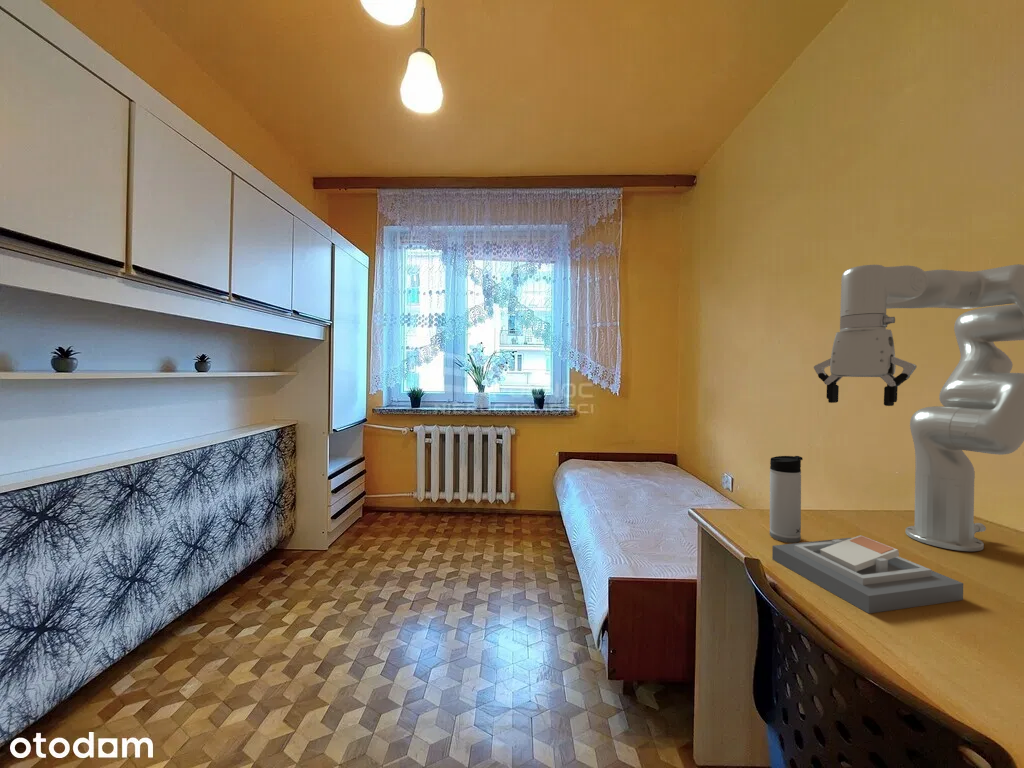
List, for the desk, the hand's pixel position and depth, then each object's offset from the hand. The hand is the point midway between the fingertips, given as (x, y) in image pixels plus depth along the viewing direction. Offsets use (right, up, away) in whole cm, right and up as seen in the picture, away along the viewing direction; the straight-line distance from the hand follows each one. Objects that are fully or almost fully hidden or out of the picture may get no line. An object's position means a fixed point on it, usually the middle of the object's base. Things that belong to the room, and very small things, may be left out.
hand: (859, 404), depth 88 cm
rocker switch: (-7, -29, -8) cm, 31 cm away
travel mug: (-9, -33, +11) cm, 36 cm away
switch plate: (-7, -34, -8) cm, 35 cm away
